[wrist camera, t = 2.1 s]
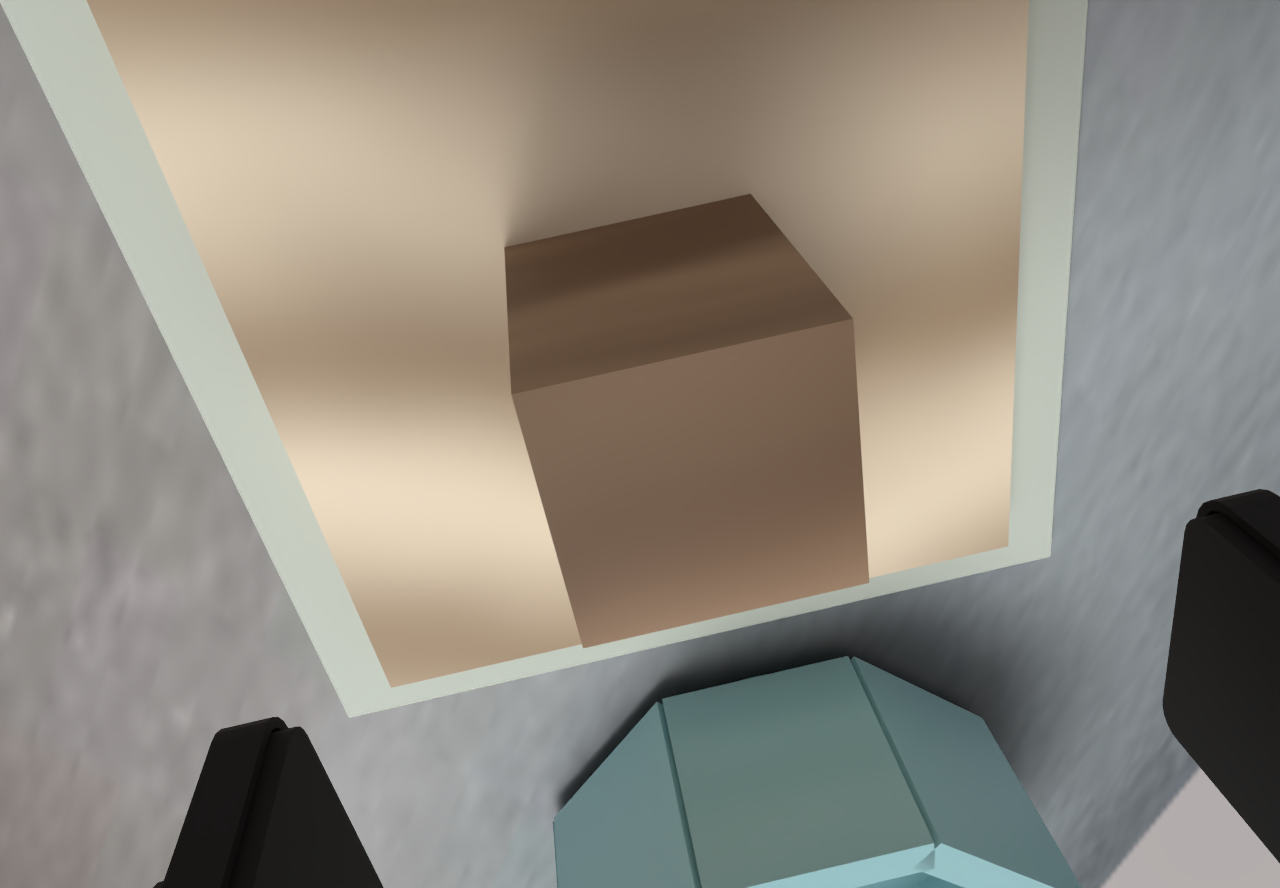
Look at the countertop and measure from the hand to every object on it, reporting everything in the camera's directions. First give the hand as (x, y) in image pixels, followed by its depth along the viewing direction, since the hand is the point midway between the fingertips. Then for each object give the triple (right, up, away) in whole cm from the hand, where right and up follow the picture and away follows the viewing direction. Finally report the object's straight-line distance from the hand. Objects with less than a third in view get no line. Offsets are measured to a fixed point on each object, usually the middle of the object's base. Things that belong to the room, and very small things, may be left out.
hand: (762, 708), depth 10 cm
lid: (-1, +5, +7) cm, 9 cm away
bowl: (+2, -7, +15) cm, 17 cm away
